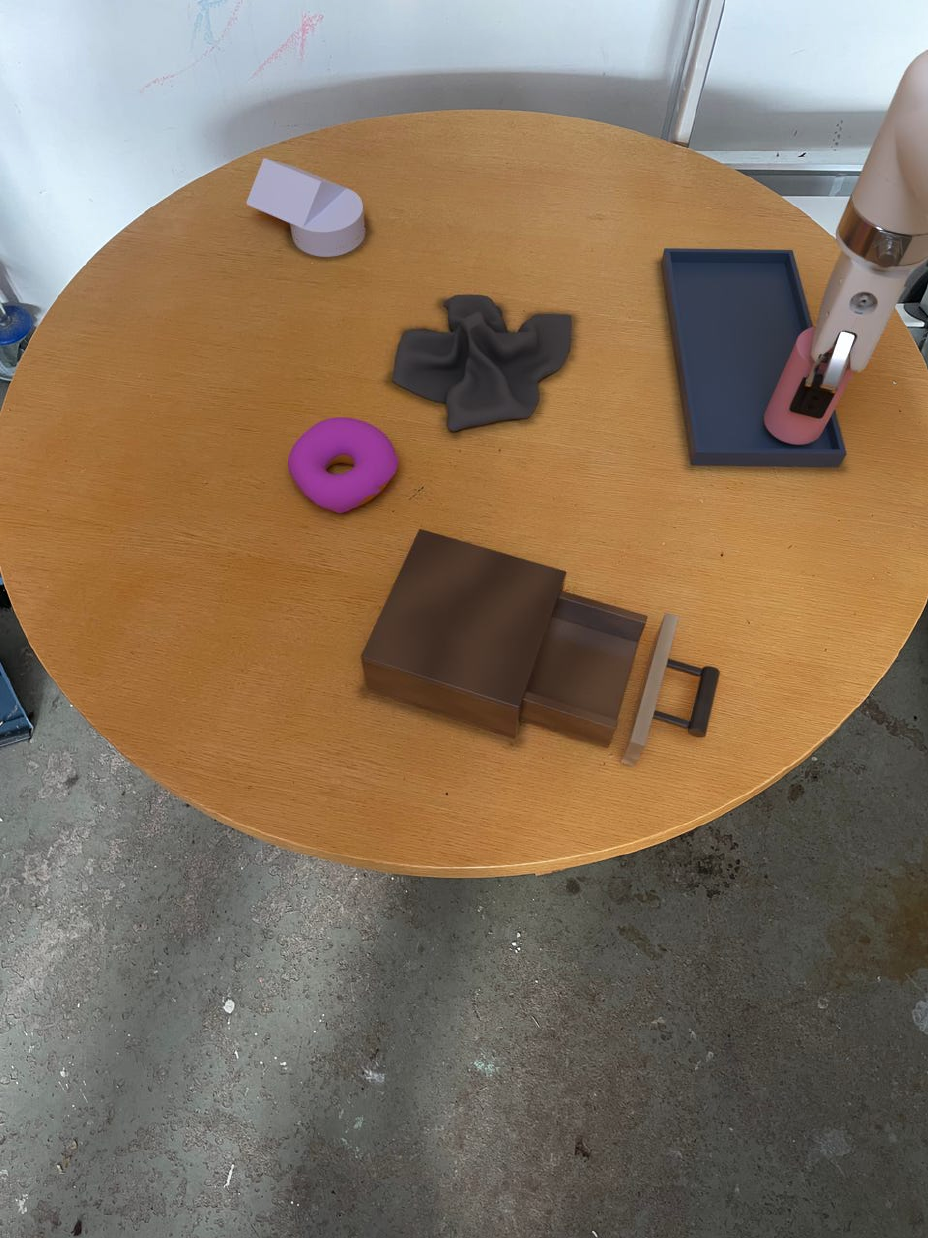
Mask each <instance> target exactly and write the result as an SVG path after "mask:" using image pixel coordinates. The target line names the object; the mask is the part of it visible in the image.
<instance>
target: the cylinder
mask: <svg viewBox="0 0 928 1238" xmlns="http://www.w3.org/2000/svg"><path fill="white" fill-rule="evenodd" d="M815 328H816V325H815V326H813V327H811V328H808V329H806V330H805V331H803V332H802V333H801V334H800V335H799V337H798V339H797V341H796V343H795V345H794V348H793V350H792V352H791V355H790V357H789V359H788V361H787V364H786V366H785V368H784V371H783V373H782V375H781V377H780V380H779V382H778V384H777V386H776V389H775V391H774V393H773V396H772V398H771V400H770V402H769V405H768V407H767V409H766V412H765V414H764V422H765V425H766V427H767V429H768V431H769V432H770V433H771V434H772V435H773V436H774V437H776V438H777V439H779V440H781V441H783V442H786V443H789V444H795V445H802V444H808V443H811V442H813V441H815V440H816V439H818V438H819V437H820V435H821V434H822V432H823V430H824V428H825V426H826V424H827V422H828V421H829V419H830V417H831V415H832V413H833V411H834V409H835V410H836V408H837V405H838V404H839V402H840V400H841V398H842V396H843V395H844V393H845V390H846V389H847V387H848V385H849V383H850V381H851V380H852V378H853V376H854V374H855V372H856V371H854V370H851V366H850V360H849V363H848V365H847V367H846V369H845V372H844V374H843V376H842V379H841V381H840V383H839V386H838V390H837V391H836V393H835V395H834V397H833V399H832V401H831V403H830V405H829V407H828V409H827V410H826V412H825V414H824V416H823V418H820V419H818V418H814V417H810V416H806V415H802V414H798V413H794V412H791V411H790V410H789V408H790V404H791V402H792V400H793V398H794V396H795V394H796V391H797V389H798V387H799V385H800V383H801V381H802V379H803V377H807V376H808V373H809V371H810V368H811V366H812V363H813V361H814V360H813V358H812V356H811V348H812V343H813V338H814V333H815ZM832 350H833V349H830V350H828V351H827V353H832ZM826 367H827V363H823V362H821V364H820V366H819V369H818V371H817V373H816V374H824V372H825V370H826Z"/></svg>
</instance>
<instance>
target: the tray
mask: <svg viewBox="0 0 928 1238" xmlns="http://www.w3.org/2000/svg"><path fill="white" fill-rule="evenodd" d="M661 256H662V257H661V260H660V266H661V274H662V279H663V287H664V293H665V301H666V307H667V313H668V319H669V320H668V321H669V326H670V333H671V340H672V347H673V354H674V359H675V366H676V373H677V381H678V386H679V387H678V388H679V393H680V399H681V407H682V413H683V421H684V426H685V433H686V442H687V447H688V453H689V459H690V465H691V466H713V467H714V466H716V467H717V466H718V467H719V466H720V467H721V466H723V467H789V468H790V467H792V468H793V467H794V468H795V467H797V468H798V467H799V468H840V466H841V464H842V463H843V462H844V459H846V456H847V454H848V453H847V450H846V445H845V442H844V438H843V433H842V431H841V426H840V423H839V420H838V415H837V411H836V408H835V409H834V411H833V413H832V415H831V417H830V419H829V421H828V422H827V424H826V426H825V428H824V430H823V432H822V434H821V435H820V437H819V438H818V439H816V440H815V441H813V442H811V443H808V444H802V445H795V444H789V443H786V442H783V441H781V440H779V439H777V438H776V437H774V436H773V435H772V434H771V433H770V432H769V431H768V429H767V427H766V425H765V422H764V414H765V412H766V409H767V407H768V405H769V402H770V400H771V398H772V396H773V393H774V391H775V389H776V386H777V384H778V382H779V380H780V377H781V375H782V373H783V371H784V368H785V366H786V364H787V361H788V359H789V357H790V355H791V352H792V350H793V348H794V345H795V343H796V341H797V339H798V337H799V335H800V334H801V333H802V332H803V331H805V330H806V329H808V328H811V327H814V324H813V321H812V317H811V313H810V311H809V305H808V302H807V299H806V295H805V292H804V291H805V290H804V287H803V284H802V280H801V275H800V272H799V268H798V265H797V261H796V257H795V254H794V250H793V249H765V248H763V249H762V248H761V249H759V248H758V249H757V248H755V249H754V248H681V247H680V248H677V247H675V248H674V247H671V248H670V247H665V248H664V249H663V252H662V255H661Z"/></svg>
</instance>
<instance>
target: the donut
mask: <svg viewBox="0 0 928 1238" xmlns="http://www.w3.org/2000/svg"><path fill="white" fill-rule="evenodd" d="M338 464H346V465H350V466H353V467H352V468H351V469H350V470H349V471H346V472H342V473H339V474H337V473H336V474H335V473H331V472H328V471H327V470H328V469H329V468H330V467H332V466H333V465H338ZM399 464H400V462H399V456H398V455H397V452H396V450H395V447H394V445H393V444H392V442H391V440H390V438H389V437H388V436H387V435H386V434H385V433H384V431H382V430H381V429H380V428H378V427H376V426H375V425H373V424H371V423H369V422H367V421H365V420H361V419H357V418H353V417H346V416H345V417H344V416H338V417H337V416H335V417H330V418H326V419H323V420H321V421H319V422H317V423H315V424H314V425H312V426H311V427H309V428H308V429H307V430H306V431H305V432H304V433H303V434H302V435H301V436H299V438H297V440H296V441H295V443H294V444H293V445H292V448H291V449H290V451H289V454H288V457H287V469H288V472H289V475H290V476H291V478H292V480H293V482H294V483H295V484H296V486H297V487H298V489H299V490H300V491H301V492H302V493H303V495H304V496H306V497H307V498H308V499H309V500H311V501H312V502H313V503H314V504H315V505H317V506H319V507H321V508H322V509H326V510H329V511H333V512H335V513H337V514H343V513H346V512H348V511H350V510H354V509H356V508H359V507H361V506H363V505H365V504H366V503H368V502H370V501H372V500H373V499H374V498H376V497H378V495H380V494H381V493H382V492H383V491H384V489H385V488H386V487H387V486H388V484H389V482H390V481H391V480H392V478H393V476H394V475H395V473H396V471H397V469H398V466H399Z"/></svg>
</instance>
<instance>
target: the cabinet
mask: <svg viewBox="0 0 928 1238" xmlns="http://www.w3.org/2000/svg"><path fill="white" fill-rule="evenodd" d="M566 577H567V571H566V570H562V569H559V568H556V567H552V566H549V565H545V564H542V563H539V562H535V561H532V560H528V559H525V558H522V557H519V556H515V555H512V554H508V553H504V552H502V551H498V550H495V549H491V548H489V547H484V546H481V545H477V544H473V543H470V542H467V541H464V540H460V539H457V538H454V537H450V536H447V535H444V534H440V533H436V532H433V531H429V530H426V529H422V528H419V529H418V531H417V533H416V535H415V537H414V540H413V541H412V543H411V546H410V548H409V550H408V552H407V555H406V557H405V558H404V561H403V563H402V566H401V567H400V570H399V572H398V574H397V576H396V579H395V581H394V583H393V585H392V587H391V590H390V592H389V593H388V596H387V598H386V601H385V602H384V603H383V604H384V605H383V607H382V609H381V611H380V613H379V615H378V617H377V620H376V622H375V624H374V626H373V628H372V631H371V633H370V635H369V637H368V639H367V642H366V644H365V646H364V648H363V649H362V652H361V654H360V661H361V666H362V671H363V676H364V680H365V685H366V688H367V692H371V693H373V694H377V695H380V696H382V697H386V698H389V699H391V700H395V701H398V702H401V703H404V704H407V705H410V706H413V707H416V708H419V709H422V710H425V711H428V712H432V713H434V714H438V715H441V716H443V717H447V718H450V719H452V720H456V721H459V722H461V723H465V724H468V725H471V726H474V727H477V728H480V729H483V730H486V731H489V732H492V733H496V734H498V735H501V736H503V737H508V738H510V739H514V740H515V739H516V737H517V734H518V731H519V728H520V725H521V722H522V721H521V720H519V718H520V711H521V705H522V701H523V698H524V696H525V693H526V690H527V687H528V684H529V681H530V678H531V675H532V672H533V670H534V667H535V664H536V661H537V658H538V655H539V652H540V649H541V646H542V644H543V641H544V638H545V635H546V632H547V629H548V626H549V623H550V620H551V618H552V615H553V612H554V609H555V606H556V603H557V600H558V597H559V594H560V592H561V590H562V591H564V589H565V588H564V587H565V583H566Z"/></svg>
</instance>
